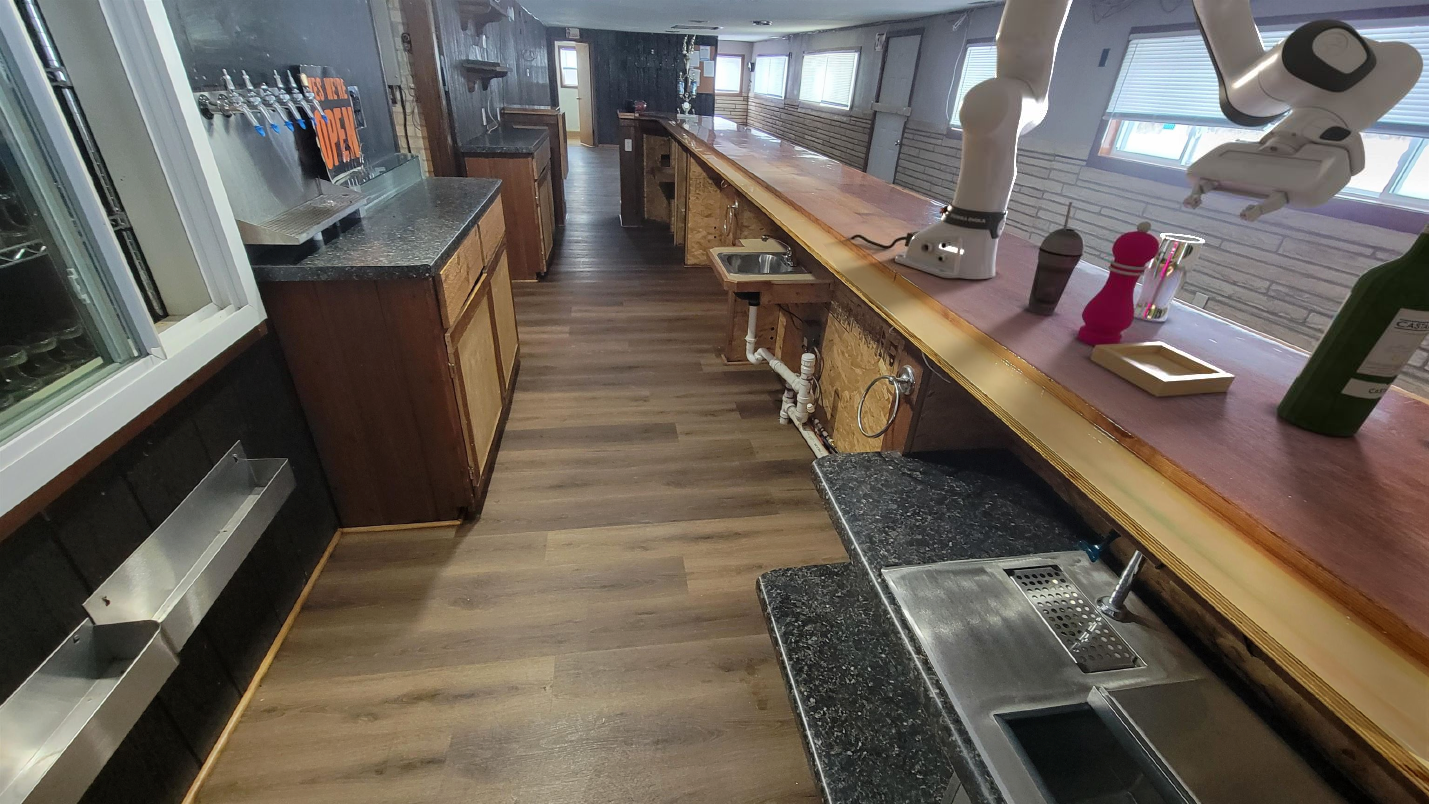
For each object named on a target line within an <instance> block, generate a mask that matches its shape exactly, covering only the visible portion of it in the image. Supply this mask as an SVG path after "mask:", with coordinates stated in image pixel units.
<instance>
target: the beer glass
mask: <svg viewBox="0 0 1429 804" xmlns="http://www.w3.org/2000/svg"><path fill="white" fill-rule="evenodd" d="M1157 239H1158V242H1159V250H1158V253H1157V255H1156V256H1155V258H1154V259H1152V260H1151V261H1149V262H1147V263H1146V264H1145V265H1147V269H1145V274H1144V275H1142V276H1143V277H1142V282H1141V285H1140V286H1141V287H1140V290H1139V292H1138V296H1137V298H1136V299H1135V301H1134V302H1133V303H1134V318H1136V319H1139V320H1143V321H1147V322H1154V323H1162V322H1166V321H1167V318H1168V313H1169V309H1170V306H1171V305H1172V302H1173V301H1174V298H1175V297H1176V295H1177V294H1178V292H1179V291H1180V290H1181V288H1183V285H1184V284H1185V283H1186V281H1187V280H1188V278H1189V276H1190V275H1191V273H1192V272H1193V270H1194V268H1195V266H1196V264H1197V261H1198V260H1199V257H1200V254H1201V251H1202V249H1203V245H1204V243H1205V240H1204V239H1202V238H1199V237H1195V236H1191V235H1186V234H1185V235H1184V234H1178V233H1177V234H1176V233H1161V234H1160V235H1159V237H1158V238H1157Z"/></svg>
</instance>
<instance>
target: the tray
mask: <svg viewBox="0 0 1429 804" xmlns="http://www.w3.org/2000/svg"><path fill="white" fill-rule="evenodd" d="M1089 360H1091V361H1093V362H1095V363H1096V364H1097V365H1100V366H1101V367H1103V368H1105V369H1107V370H1109V371H1110V372H1112V373H1114V374H1116V375H1117V376H1119V377H1121V378H1123V379H1124V380H1126V381H1128V382H1130V383H1132V384H1133V385H1135V386H1137V387H1139V388H1141V389H1143V390H1144V391H1146V392H1148V393H1149V394H1151V395H1153V396H1155V397H1156V398H1161V397H1171V396H1172V397H1174V396H1184V395H1185V396H1186V395H1198V394H1199V395H1200V394H1212V393H1224V392H1228V391H1229V389H1230V387H1231V385H1232V384H1233V382H1234V380H1235V378H1236V375H1234V374H1232V373H1229V372H1227V371H1225V370H1222V369H1221V368H1218V367H1217V366H1214V365H1213V364H1210V363H1208V362H1206V361H1203V360H1201V359H1199V358H1197V357H1195V356H1193V355H1190V354H1189V353H1186V352H1184V351H1182V350H1180V349H1177V348H1175V347H1174V346H1171V345H1168V344H1167V343H1165V342H1162V341H1146V342H1143V341H1142V342H1126V343H1125V342H1124V343H1119V344H1106V345H1096V346H1094V348H1093V351H1092V353H1091V356H1090V358H1089Z"/></svg>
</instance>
